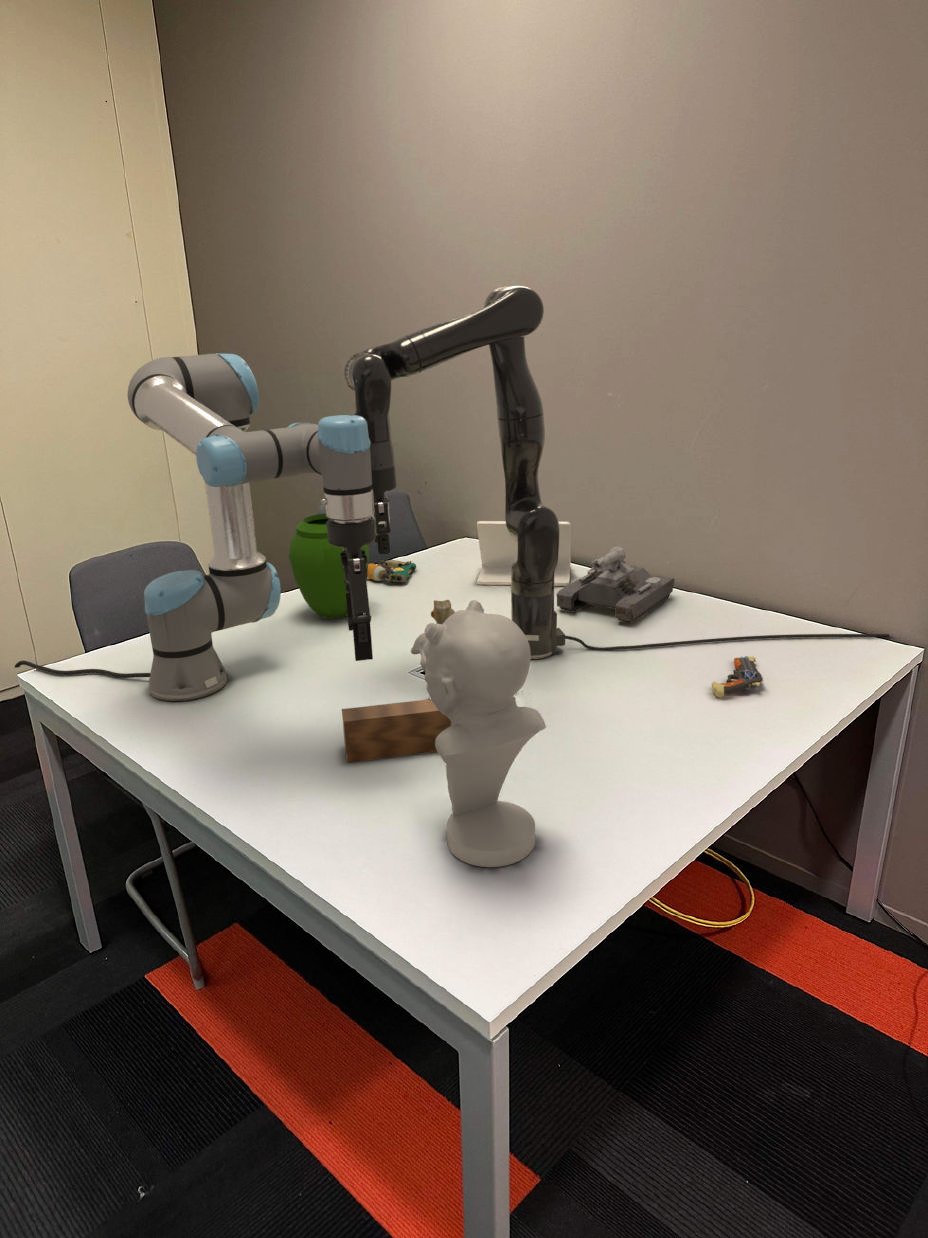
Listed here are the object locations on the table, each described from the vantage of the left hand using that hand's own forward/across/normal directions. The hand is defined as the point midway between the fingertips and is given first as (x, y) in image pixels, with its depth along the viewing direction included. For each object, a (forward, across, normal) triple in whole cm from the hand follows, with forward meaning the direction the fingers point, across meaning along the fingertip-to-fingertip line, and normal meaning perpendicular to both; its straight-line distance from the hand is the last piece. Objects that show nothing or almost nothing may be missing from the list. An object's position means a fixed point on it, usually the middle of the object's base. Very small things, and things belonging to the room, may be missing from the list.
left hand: (360, 643), depth 141 cm
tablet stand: (+20, -89, +53) cm, 105 cm away
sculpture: (+20, -31, +19) cm, 42 cm away
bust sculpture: (+21, +27, +12) cm, 36 cm away
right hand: (-8, -29, +7) cm, 31 cm away
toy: (+20, -59, +68) cm, 92 cm away
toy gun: (+21, -11, +75) cm, 78 cm away
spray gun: (+20, -99, +17) cm, 102 cm away
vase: (+20, -72, -1) cm, 75 cm away
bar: (+20, 0, +9) cm, 22 cm away
